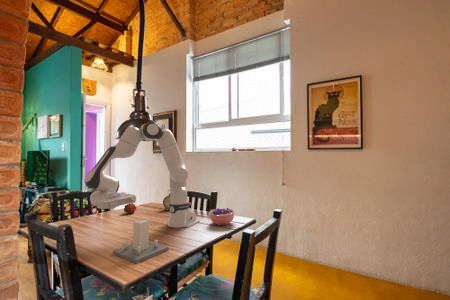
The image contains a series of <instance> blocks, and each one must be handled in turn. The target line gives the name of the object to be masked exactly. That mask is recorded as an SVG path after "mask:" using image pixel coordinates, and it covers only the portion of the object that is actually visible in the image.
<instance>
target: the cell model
mask: <svg viewBox="0 0 450 300" xmlns="http://www.w3.org/2000/svg"><path fill="white" fill-rule="evenodd" d="M208 217H209V218H208V219H210V220H211V222H212V223H213V224H215V225H217V226H225V225H228V224H230V223H231V222H232V221H233V220H234V218H235V210H233V209H231V208H229V207H226V208H222V207H217V208H214V209H213V208H212V209H210V210H209V212H208Z"/></svg>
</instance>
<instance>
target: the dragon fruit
mask: <svg viewBox="0 0 450 300" xmlns="http://www.w3.org/2000/svg"><path fill="white" fill-rule="evenodd" d="M136 210H137V206H136V204H135V203H129V204H124V208H123V212H124V213H126V214H128V215H130V214H134V213H135V211H136Z"/></svg>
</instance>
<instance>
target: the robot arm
mask: <svg viewBox="0 0 450 300" xmlns="http://www.w3.org/2000/svg"><path fill="white" fill-rule="evenodd" d="M141 141H142V142H152V141H156V142H157V144H158V147H159V149H160V152H161V154H162V157H163V159H164V162H165V165H166V167H167V170H168V172H169V190H170V191H169V194H170V204H169V209H168V210H169V213H168V214H169V215H168V220H167V225H166V226H167V227H169V228H189V227H192V226H194V225H196V224H197V223H199V222H200V221H201V220H200V219H199V218H197V214H196V212H195V211H194V210H193V209H191V208H190V206H191V207H192V202H188V187H187V180H188V178H189V171H188V168H187V165H186V163H185V161H184V158H183V156H182V154H181V150H180V148H179V146H178V143H177V140H176V138H175V136H174V134H173V133H172V131H171V130H170V129H167V128H163V127H161V126H160V124H158V123H157V122H155V121H147V122H145V123H144V124H143V125H142V126H141V127H136V126H128V127H127V128H126V129H125V130H124V132H123V133H122V135H121V137H120V138H119V140H118V142H117V143H116V144H114V145H113V146H109V147H108V148H107V149H106V151H105V152H104V153H103V155H102V156H101V157H100V159H99V160H98V161H97V163H96V164H95V165H94V167H93V168H92V169H91V170H89V172H88V173H87V174H86V176H85V177H84V183H85V186H86V187H87V188H88V189H92V190H96V191H94V192H93V191H92V193H91V194H90V196H89V201H90V203H91V204H92V205H93V206H95V207H97V209H100V210H107V209H110V210H114V209H116V208H117V207H120V206H125V205H127V204H129V203H133V204H135V203H136V202H137V196H136V195H135V194H130V193H127V192H122V191H121V192H118V191H119V188H120V181H119V179H118V178H117V177H113V176H111V175H109V174H106V173H103V172H104V170H105V169H106V168H107V166H108V165H109V163H111V162H112V160H114V159H127V158H130V157H132V156H134V155H135V153H136V152H137V149H138V147H139V145H140V143H141Z"/></svg>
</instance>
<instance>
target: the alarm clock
mask: <svg viewBox="0 0 450 300" xmlns="http://www.w3.org/2000/svg"><path fill="white" fill-rule="evenodd" d="M168 192H170V189H169V190H168ZM169 204H170V193H168V195H166V196H165V197H164V198H163V201H162V205H163V207H164V211H166V210H170V209H169Z"/></svg>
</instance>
